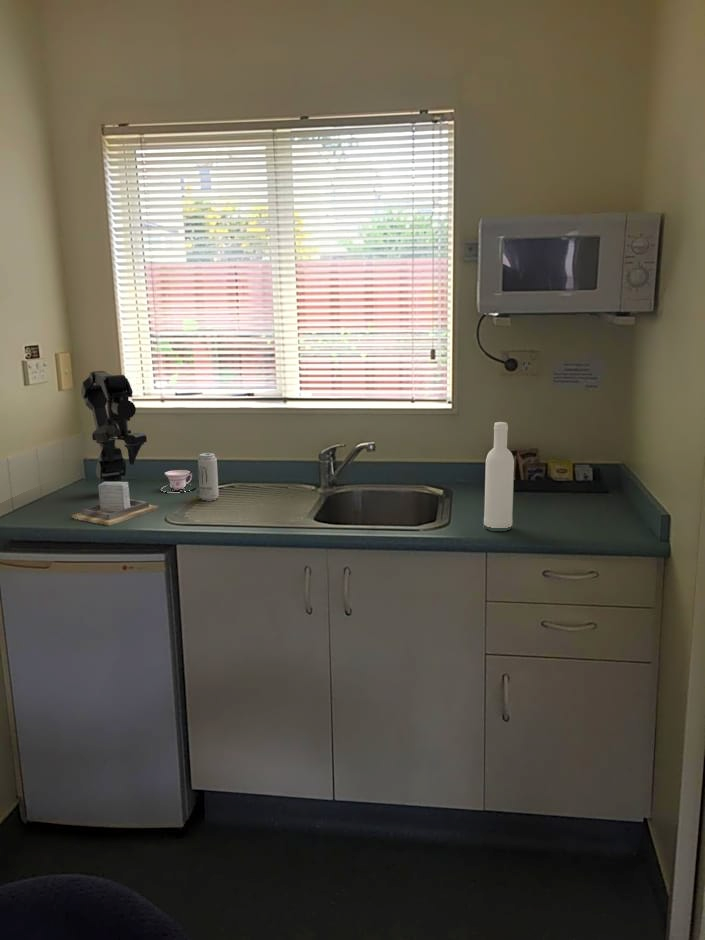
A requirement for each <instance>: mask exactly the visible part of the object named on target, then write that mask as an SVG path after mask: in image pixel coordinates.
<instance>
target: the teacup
mask: <svg viewBox="0 0 705 940" xmlns="http://www.w3.org/2000/svg"><path fill="white" fill-rule="evenodd" d="M164 475H165V476H166V477H167V478H168V480H169V485H170V487H171V488H173V489H174V490H173V489H172V490H173V491H175V490H179V489H183V490H184V489H185V488H184V487H185V486H186V484H189V483H190V482H191V480H192V479H193V473H191V471H190V470H185V469H177V470H175V469H174V470H169V471H166V472H164ZM188 476H190V479H189V480H188V481H187V478H188ZM166 486H167V485H165V486H163V487H161V488H160V491H161V492H162V491H163V490H162V489H163V488H164V487H166ZM189 491H190V490H189ZM165 492H166V491H163V492H162V493H165ZM184 492H185V493H187V492H186V491H184ZM190 492H191V491H190ZM166 494H181V493H180V492H167V493H166Z"/></svg>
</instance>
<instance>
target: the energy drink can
mask: <svg viewBox="0 0 705 940" xmlns="http://www.w3.org/2000/svg"><path fill="white" fill-rule="evenodd" d="M217 460H218V459H217V457H216V455H215V453H213V452H204V453H200V454H199V456H198V459H197V465H198V466H197V469H198V482H199V484H198V485H199V498H201V500H202V501H203V500H206V501H205V502H213V501H212V500H214V501H216V499H217V500H218V498H219V493H220V492H219V478H218V476H219V475H218V461H217Z"/></svg>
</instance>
